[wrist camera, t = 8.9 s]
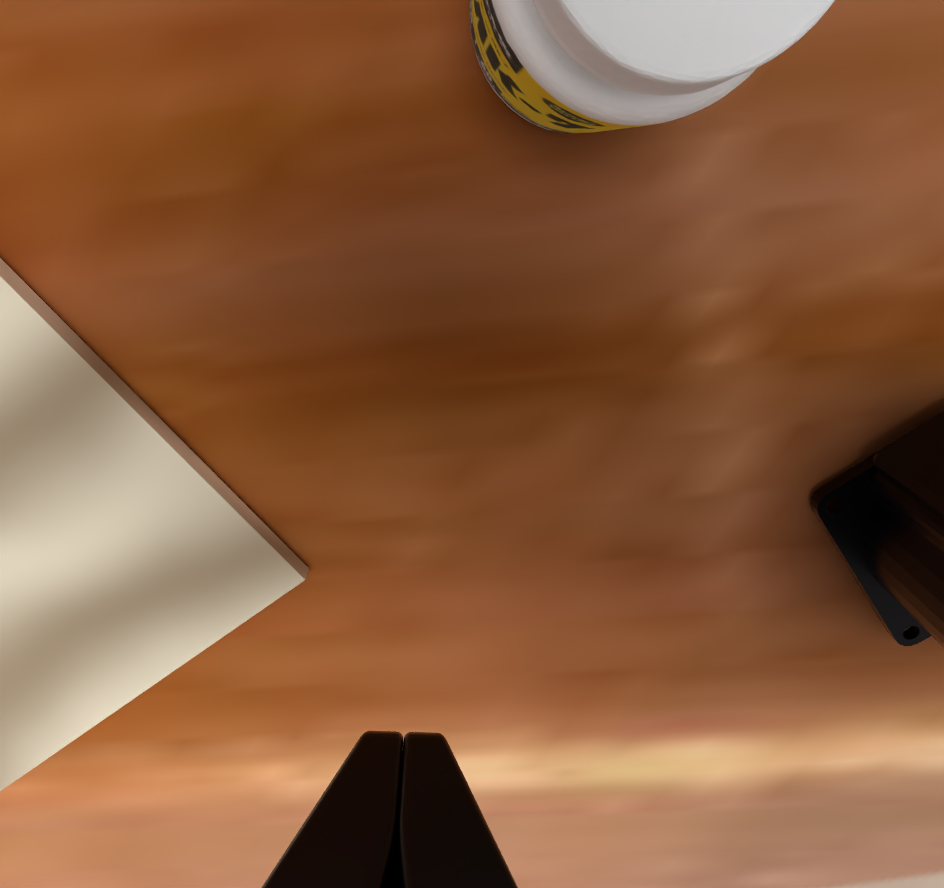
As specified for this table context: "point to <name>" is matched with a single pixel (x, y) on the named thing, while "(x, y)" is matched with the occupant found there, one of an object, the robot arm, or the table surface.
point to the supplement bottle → (628, 55)
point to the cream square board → (104, 540)
